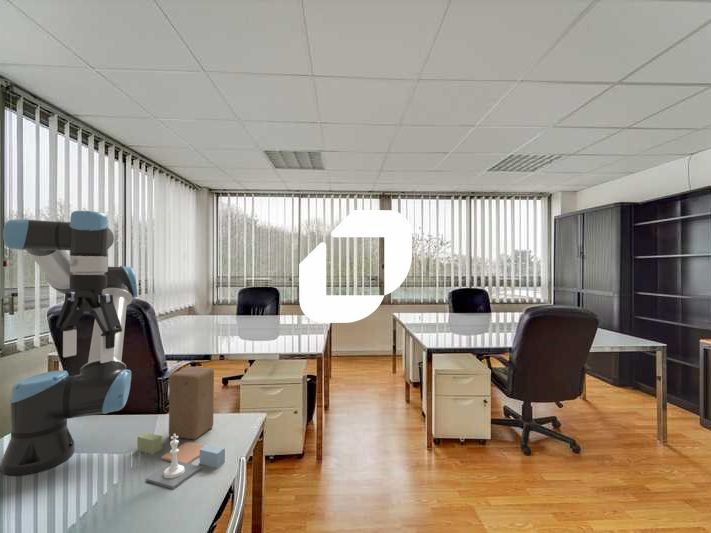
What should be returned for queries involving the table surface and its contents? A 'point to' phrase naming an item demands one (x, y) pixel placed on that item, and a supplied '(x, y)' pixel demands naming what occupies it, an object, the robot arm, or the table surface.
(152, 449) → the brick olive
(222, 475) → the table surface
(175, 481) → the pad slate
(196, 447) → the pad terracotta
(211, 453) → the brick blue
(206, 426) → the wooden block
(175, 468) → the chess piece
